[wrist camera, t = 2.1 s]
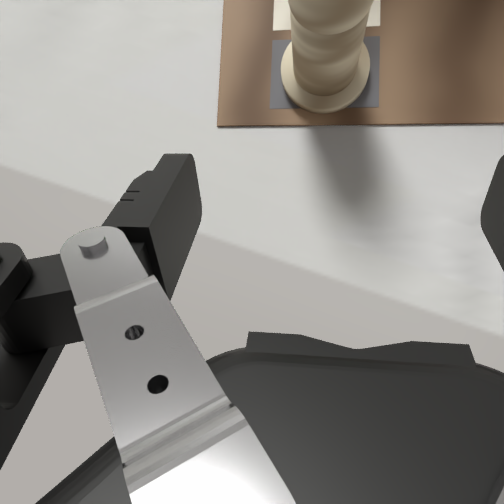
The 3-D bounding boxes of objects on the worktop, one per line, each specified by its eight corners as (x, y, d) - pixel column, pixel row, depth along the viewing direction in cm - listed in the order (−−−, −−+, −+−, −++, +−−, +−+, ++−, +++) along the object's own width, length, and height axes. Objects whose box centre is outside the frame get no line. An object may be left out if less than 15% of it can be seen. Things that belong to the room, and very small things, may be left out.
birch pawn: (279, 114, 27) (265, 14, 17) (283, 34, 27) (270, -107, 18) (367, 113, 26) (403, 8, 16) (368, 30, 26) (404, -118, 17)
